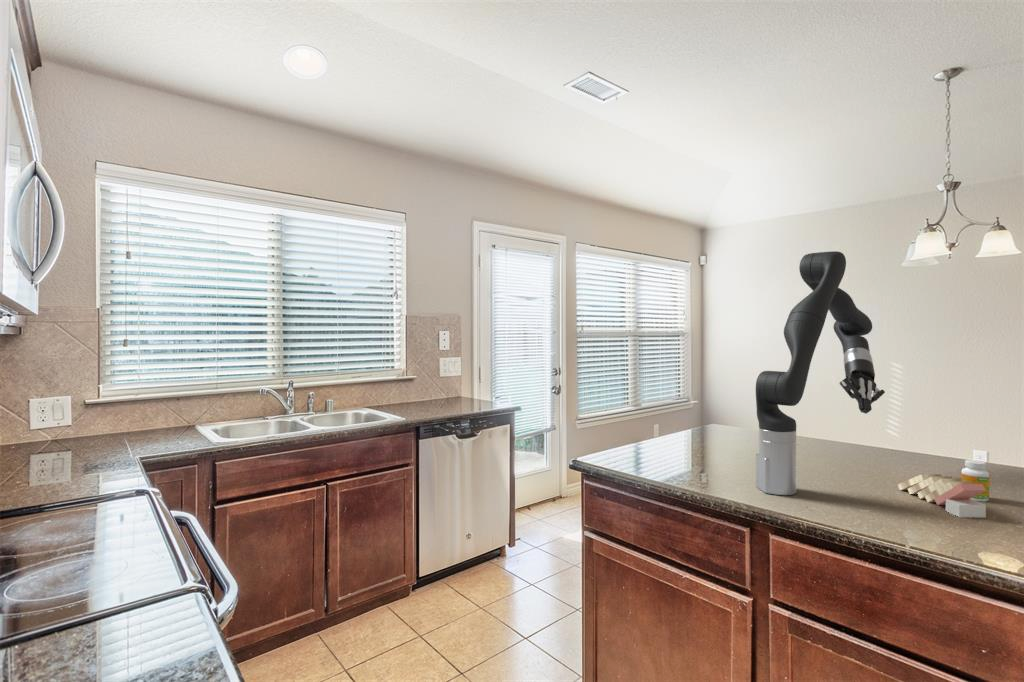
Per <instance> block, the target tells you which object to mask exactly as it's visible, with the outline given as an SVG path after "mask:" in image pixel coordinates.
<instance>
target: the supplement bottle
mask: <svg viewBox="0 0 1024 682" xmlns="http://www.w3.org/2000/svg"><path fill="white" fill-rule="evenodd" d="M986 464H987V463H986V462H985V461H981V460H975V459H966V460H964V466H965V467H963V468H962V469H961V473H960V474H961V476H960V477H961V478H960V479H962V480H963V482H972V484H983V486H984V487H985V489H986V491H984V492H982V493H980V494H978V495H976V496H974V497H972V498H971V499H972V500H974V501H977V502H980V503H982V502H985V503H986V502H988V501H989V500H990V473H989V472H988V471H987V470H986V466H987V465H986Z"/></svg>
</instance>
